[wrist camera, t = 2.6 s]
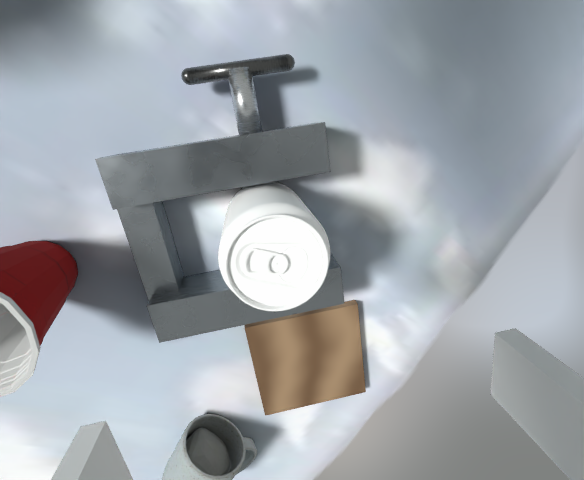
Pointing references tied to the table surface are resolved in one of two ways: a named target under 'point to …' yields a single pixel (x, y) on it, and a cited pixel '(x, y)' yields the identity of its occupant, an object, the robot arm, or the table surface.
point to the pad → (307, 357)
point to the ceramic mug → (210, 451)
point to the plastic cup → (29, 304)
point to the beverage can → (272, 248)
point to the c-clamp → (205, 179)
